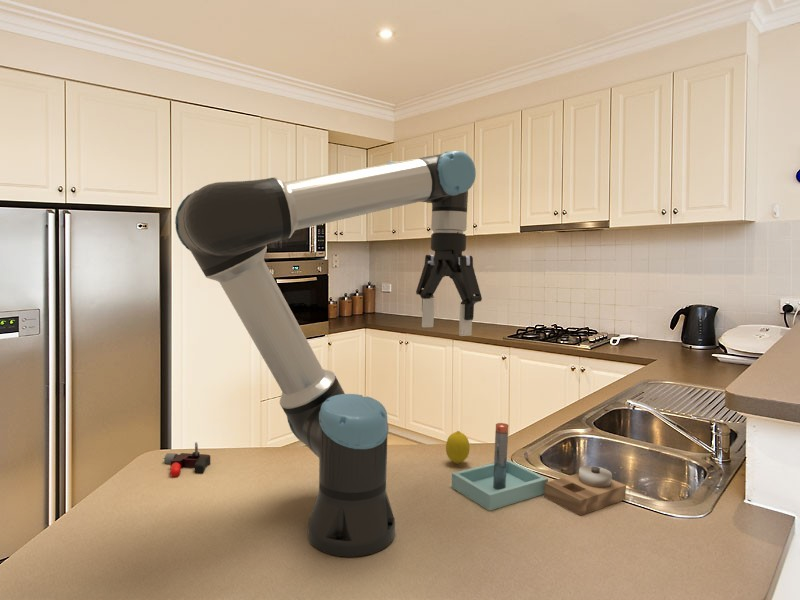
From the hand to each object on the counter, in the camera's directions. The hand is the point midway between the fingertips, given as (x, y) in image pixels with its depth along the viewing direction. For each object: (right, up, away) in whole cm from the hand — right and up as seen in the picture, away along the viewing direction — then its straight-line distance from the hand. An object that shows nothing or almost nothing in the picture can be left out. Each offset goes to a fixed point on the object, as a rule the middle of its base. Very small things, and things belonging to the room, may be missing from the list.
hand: (445, 331), depth 116 cm
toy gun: (-59, -32, +4) cm, 67 cm away
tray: (+11, -33, -3) cm, 35 cm away
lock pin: (+11, -33, -3) cm, 35 cm away
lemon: (+4, -32, +11) cm, 34 cm away
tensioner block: (+28, -34, -6) cm, 45 cm away
